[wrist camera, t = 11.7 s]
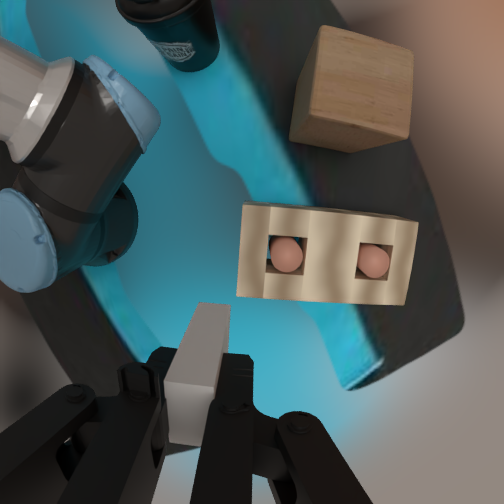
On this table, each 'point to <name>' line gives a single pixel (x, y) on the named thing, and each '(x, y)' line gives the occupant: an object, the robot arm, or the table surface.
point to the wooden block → (352, 92)
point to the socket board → (324, 254)
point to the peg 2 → (372, 260)
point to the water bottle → (176, 29)
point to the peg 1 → (285, 253)
